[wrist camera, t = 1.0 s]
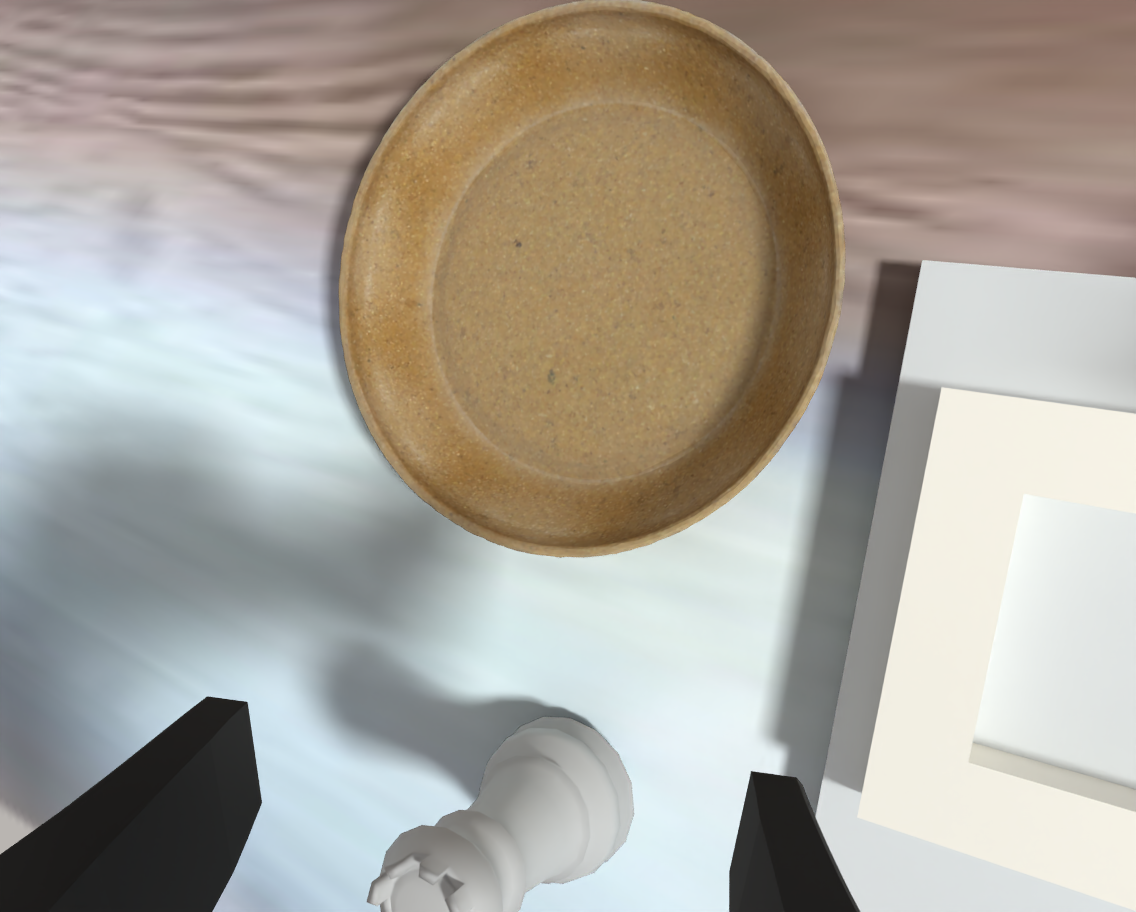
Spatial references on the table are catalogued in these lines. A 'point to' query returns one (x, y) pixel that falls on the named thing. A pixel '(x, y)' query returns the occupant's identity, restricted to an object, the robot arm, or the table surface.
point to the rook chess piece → (516, 826)
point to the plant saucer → (591, 278)
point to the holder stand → (997, 609)
